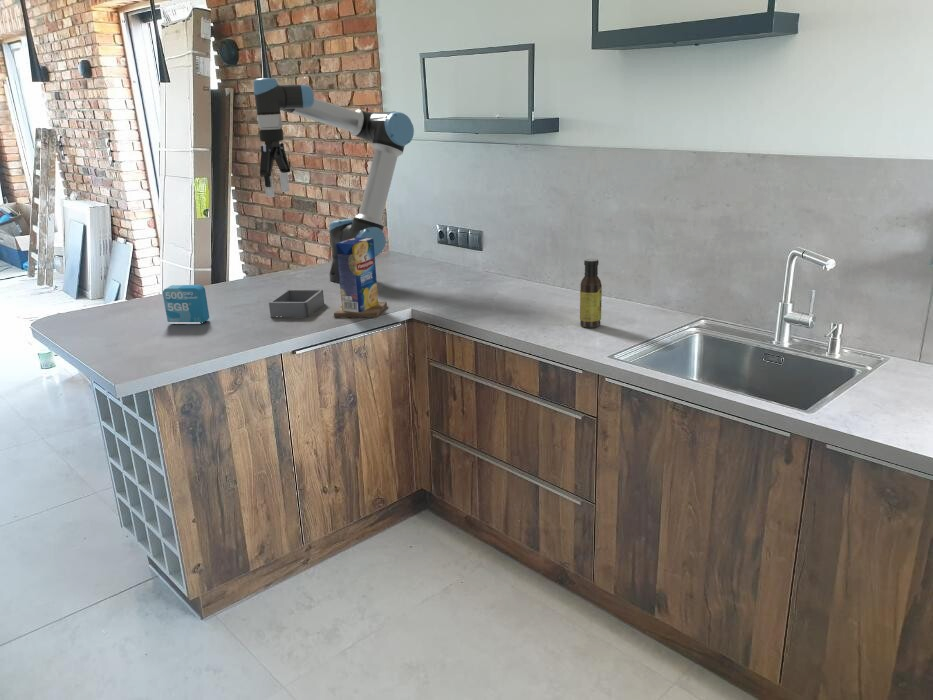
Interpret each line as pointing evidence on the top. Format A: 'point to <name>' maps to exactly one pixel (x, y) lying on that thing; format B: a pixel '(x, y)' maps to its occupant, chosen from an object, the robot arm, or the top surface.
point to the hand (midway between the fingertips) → (278, 194)
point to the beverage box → (357, 274)
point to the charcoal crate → (296, 303)
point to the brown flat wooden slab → (369, 312)
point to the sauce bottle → (590, 295)
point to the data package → (186, 303)
